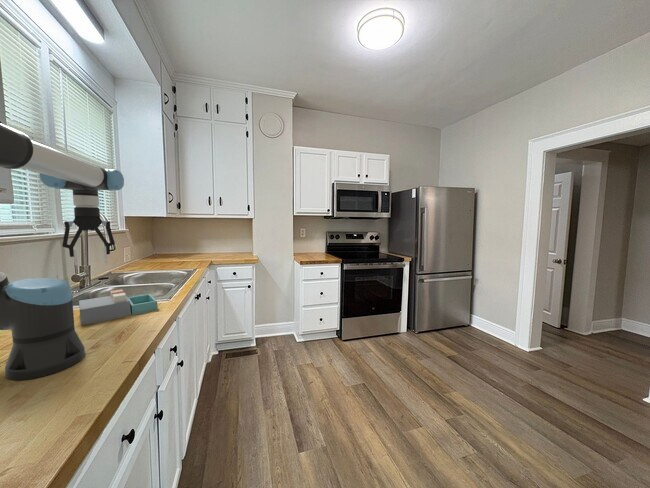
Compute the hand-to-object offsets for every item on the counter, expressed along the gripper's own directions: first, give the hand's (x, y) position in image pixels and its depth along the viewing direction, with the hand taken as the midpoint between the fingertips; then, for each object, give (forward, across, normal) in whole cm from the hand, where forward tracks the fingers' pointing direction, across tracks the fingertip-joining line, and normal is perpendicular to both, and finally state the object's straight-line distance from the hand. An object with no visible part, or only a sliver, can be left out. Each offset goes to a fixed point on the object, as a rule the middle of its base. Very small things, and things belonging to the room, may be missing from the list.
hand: (91, 263), depth 107 cm
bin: (+21, -16, +4) cm, 27 cm away
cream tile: (+15, -8, +7) cm, 18 cm away
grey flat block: (+21, -3, +4) cm, 22 cm away
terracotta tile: (+15, -8, 0) cm, 17 cm away
